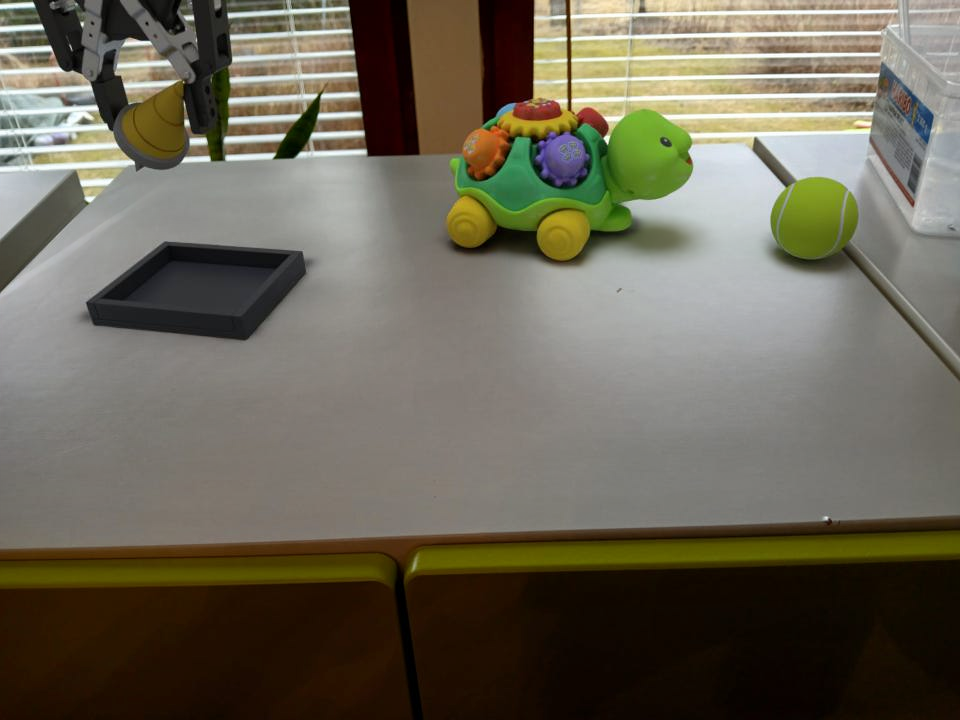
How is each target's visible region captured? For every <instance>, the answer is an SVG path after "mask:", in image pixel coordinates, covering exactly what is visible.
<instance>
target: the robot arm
mask: <svg viewBox="0 0 960 720" xmlns="http://www.w3.org/2000/svg"><path fill="white" fill-rule="evenodd" d="M182 1H183V0H32V2H33V5H34V7H35V10H36V13H37V15H38V17H39V19H40V23H41V25H42V27H43V30H44V33H45V35H46V37H47V41H48V42H49V45H50V47H51V50H52V52H53V55H54V57H55V60H56V62H57V65H58V67H59V69H60V70H62V71H63V72H66V73H70V72H75V73H77V74H80V75H82V76H83V77H84V78H85V79H86V80H87V81H88V82H89V84H90V86H91V89H92V92H93V95H94V100H95V103H96V106H97V110H98V113H99V116H100V118H101V119H102V121H103V123H104V124H106V126H107V128H108V130H109V131H110V132H113V126H114V122H115V120H116V118H117V116H118V114H119V112H120V111H121V109H123V108H124V107H125V106H127V105H129V104H130V102H129V100H128V97H127V92H126V89H125V86H124V81H123V78H122V77H123V76H122V75H121V74H119V75H117V74H116V73H115V72H116V71H117V68H118V62H119V57H120V51H121V48H122V47H123V46H124V44H125V43H126V40H127V39H133V40H136V41H139V42H150V43H151V45H152V46H153V47H154V49H155V51H156V52H157V53H158V54H159V55H160V56H162V57H165V58H166V59H167V60H168V62H169V63H170V65H171V67H172V68H173V69H174V70H175V72H176V74H177V75H178V76H179V78H180V79H181V80H183V89H184V96H183V98H184V108H185V111H186V115H187V120H188V123H189V128H190V131H191V133H192V134H193V135H199V136H200V135H201V136H202V135H203V136H204V135H206V134H207V133H209V132H210V131H212V130H213V129H214V128H215V123H217V122H218V118H219V112H218V108H217V103H216V99H215V98H216V97H215V94H214V89H213V84H212V77H213V75H214V74H216V73H218V72H220V71H222V70H224V69H226V68H228V67H230V66H231V65H232V63H233V53H232V51H233V50H232V42H231V33H230V23H229V13H228V4H227V0H185V1H186V8H187V10H189V11H190V12H192V13H193V22H194V30H193V28H192V26H191V25H190V23H189V22H188V21H187V19H186V17H185V16H184V15H183V13H182V12H181V10H180V7H181V5H182ZM76 5H78V6H79V8H80V9H81V10H82V11H83V12H84V19H83V25H82V24H81V20H80V18H79V16H78V12H77V10H76ZM170 31H171V32H172V34H173V35H171V34H170V33H169V32H170Z"/></svg>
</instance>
